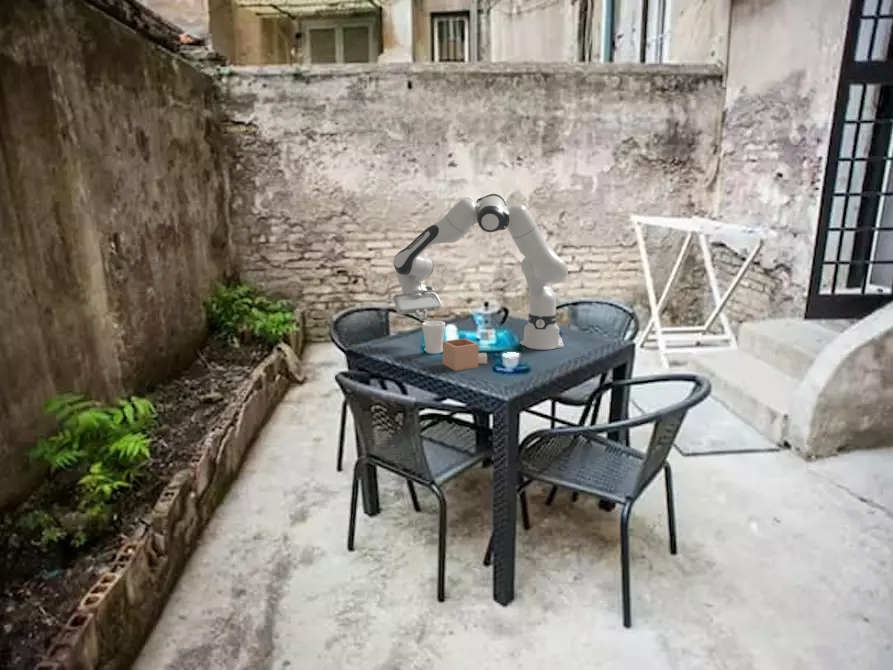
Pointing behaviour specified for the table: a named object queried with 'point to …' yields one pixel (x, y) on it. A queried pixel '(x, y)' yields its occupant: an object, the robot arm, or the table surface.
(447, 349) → the planter
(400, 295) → the robot arm
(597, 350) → the table surface
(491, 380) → the table surface
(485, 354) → the limestone block
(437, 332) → the foam cup
